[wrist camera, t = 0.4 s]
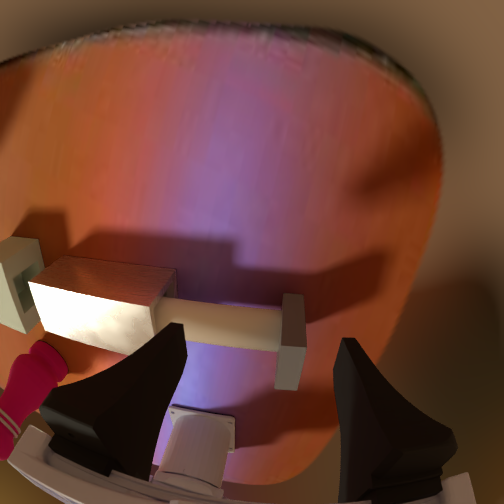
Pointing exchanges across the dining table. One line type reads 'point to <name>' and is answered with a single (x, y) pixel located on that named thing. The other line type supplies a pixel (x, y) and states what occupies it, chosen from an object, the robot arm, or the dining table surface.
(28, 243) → the socket
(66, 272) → the sleeve
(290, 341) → the tube
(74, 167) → the dining table surface
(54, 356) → the pepper mill
